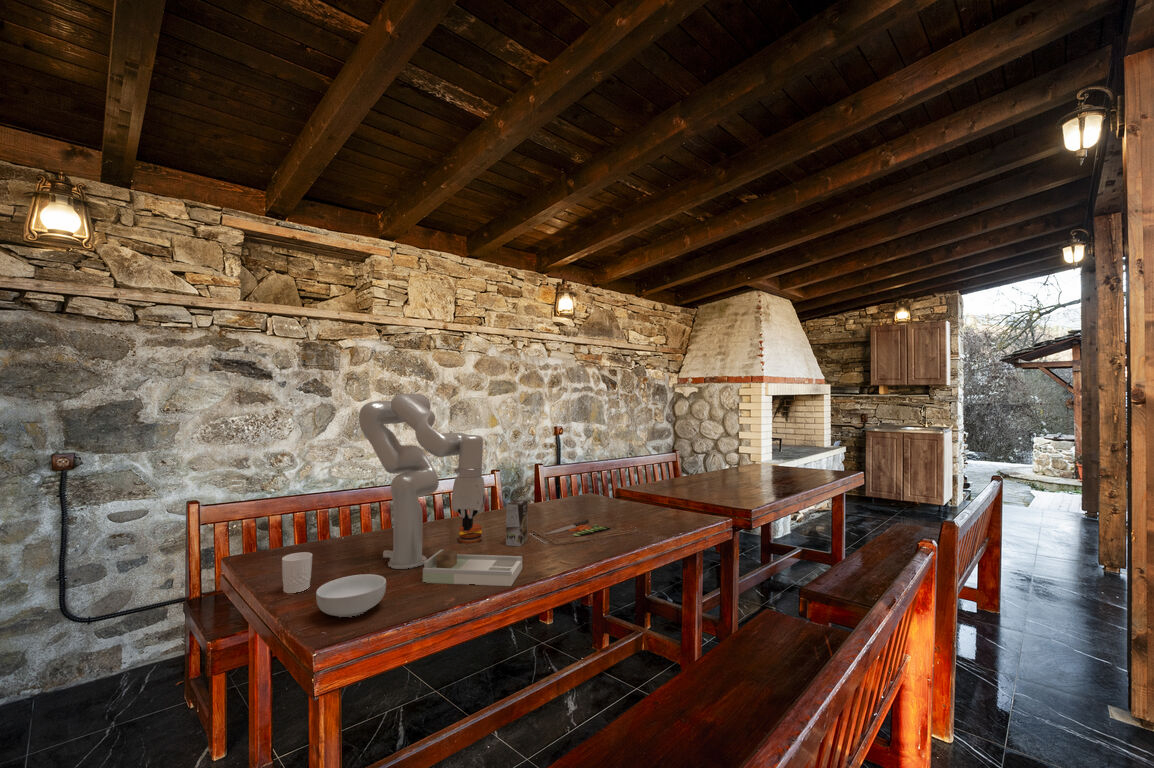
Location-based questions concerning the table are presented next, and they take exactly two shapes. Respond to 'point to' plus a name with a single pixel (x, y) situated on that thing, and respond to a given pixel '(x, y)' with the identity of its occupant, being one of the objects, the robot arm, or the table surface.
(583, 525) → the chopping board
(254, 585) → the table surface
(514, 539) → the coffee box
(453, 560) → the walnut block
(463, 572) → the tray
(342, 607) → the cereal bowl
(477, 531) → the hamburger
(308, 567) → the white cup
